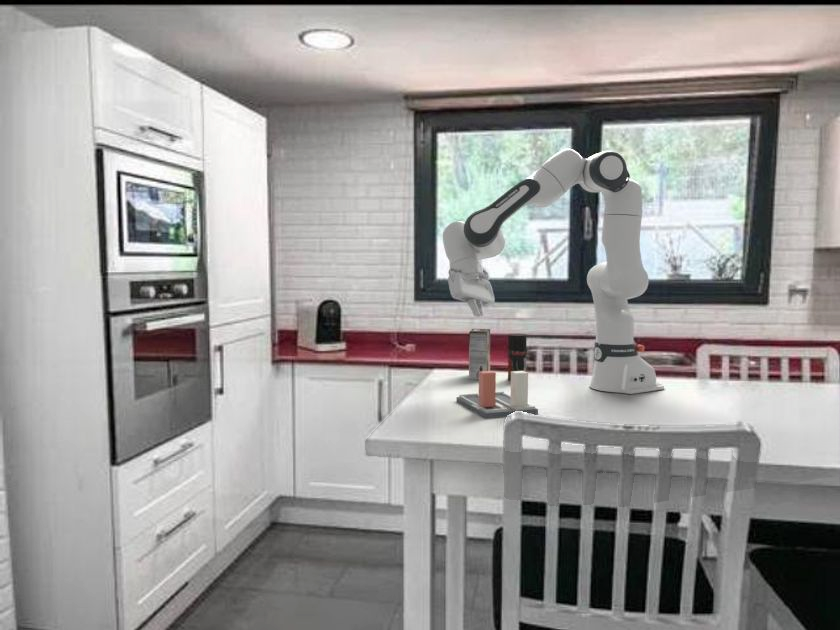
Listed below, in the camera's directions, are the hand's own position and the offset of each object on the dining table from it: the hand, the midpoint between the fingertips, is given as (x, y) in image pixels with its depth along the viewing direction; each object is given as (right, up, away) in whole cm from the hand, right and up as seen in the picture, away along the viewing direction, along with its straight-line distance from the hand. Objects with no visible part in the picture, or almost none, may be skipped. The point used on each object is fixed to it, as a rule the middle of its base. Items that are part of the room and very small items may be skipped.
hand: (478, 315), depth 187 cm
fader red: (+1, -24, -17) cm, 29 cm away
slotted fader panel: (+3, -25, -13) cm, 28 cm away
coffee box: (+3, -21, +30) cm, 37 cm away
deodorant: (+15, -21, +26) cm, 37 cm away
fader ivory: (+9, -24, -17) cm, 31 cm away
